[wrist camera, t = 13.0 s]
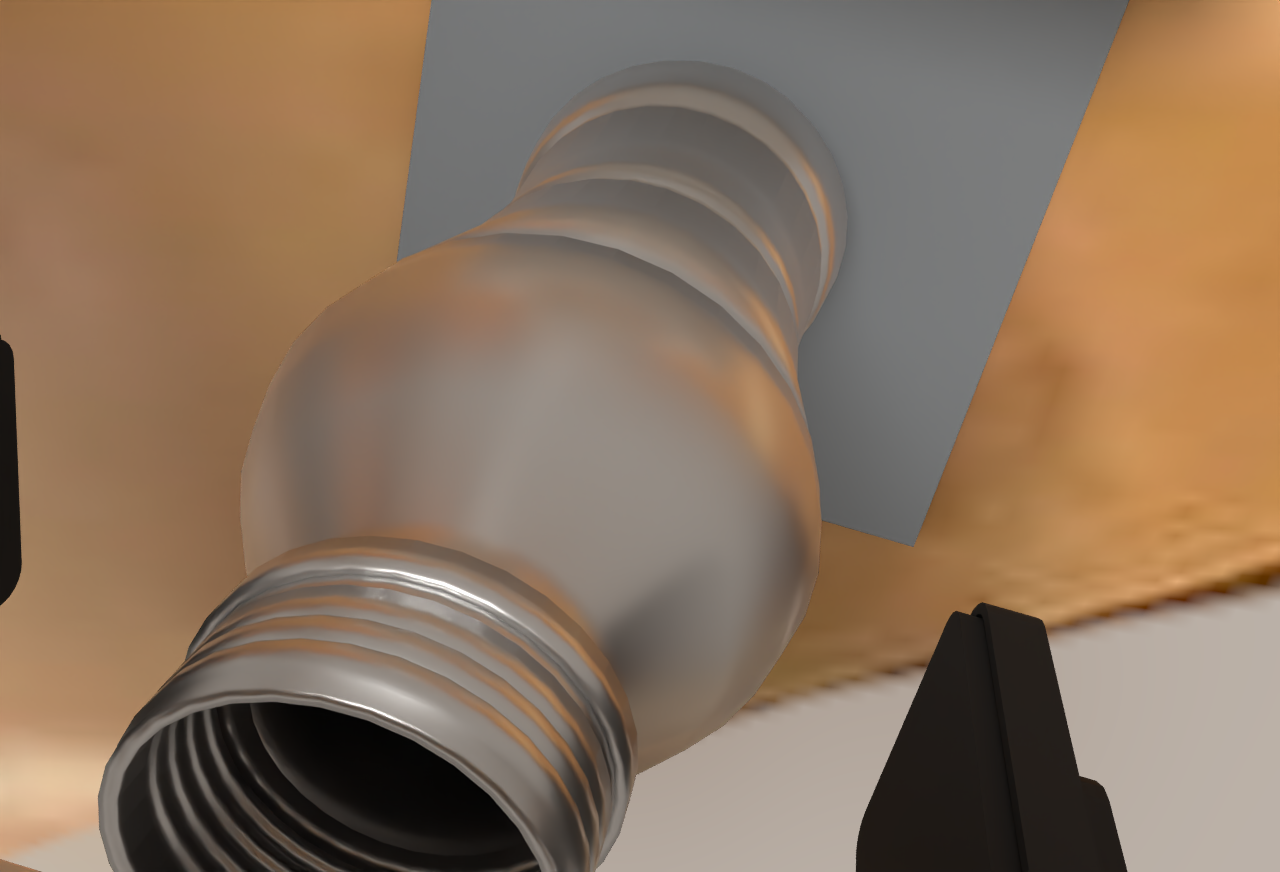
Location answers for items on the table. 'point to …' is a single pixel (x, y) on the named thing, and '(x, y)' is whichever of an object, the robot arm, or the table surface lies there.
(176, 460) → the table surface
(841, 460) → the mat
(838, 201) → the plastic bottle
